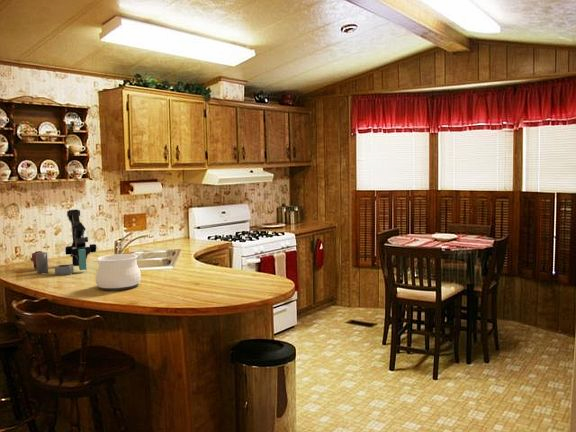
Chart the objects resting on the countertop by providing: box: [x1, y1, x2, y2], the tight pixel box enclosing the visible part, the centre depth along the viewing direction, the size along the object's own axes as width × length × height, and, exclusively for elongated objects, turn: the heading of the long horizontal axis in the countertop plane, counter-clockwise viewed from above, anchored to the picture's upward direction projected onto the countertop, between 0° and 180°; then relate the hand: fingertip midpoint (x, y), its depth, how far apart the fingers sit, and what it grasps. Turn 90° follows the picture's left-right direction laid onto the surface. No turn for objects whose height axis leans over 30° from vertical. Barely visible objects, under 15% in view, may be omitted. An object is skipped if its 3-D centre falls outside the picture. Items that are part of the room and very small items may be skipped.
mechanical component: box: [30, 250, 43, 271], centre depth 353 cm, size 12×10×10 cm
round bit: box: [36, 251, 49, 275], centre depth 341 cm, size 7×7×13 cm
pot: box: [92, 252, 142, 292], centre depth 296 cm, size 28×24×17 cm
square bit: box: [78, 249, 88, 271], centre depth 340 cm, size 4×4×13 cm
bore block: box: [54, 263, 75, 276], centre depth 338 cm, size 9×9×5 cm
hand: (82, 259), depth 339 cm, fingers closed on square bit, 4 cm apart
